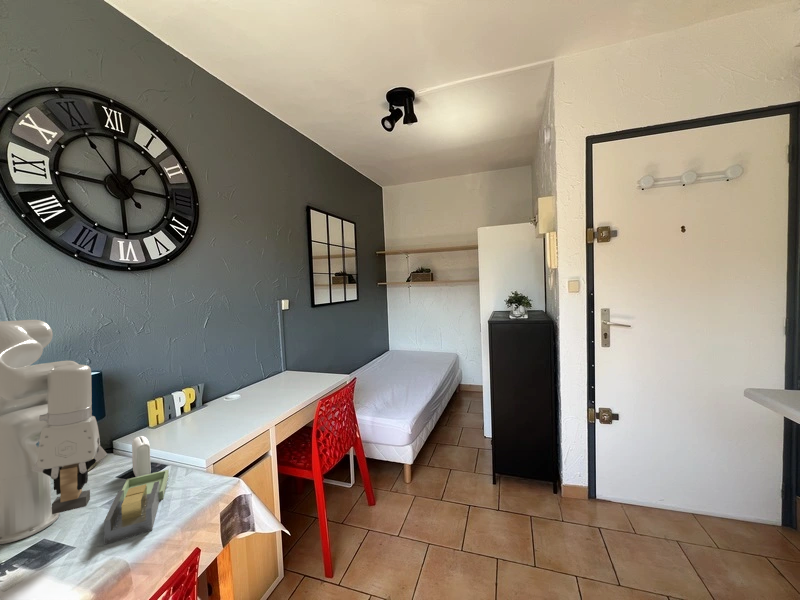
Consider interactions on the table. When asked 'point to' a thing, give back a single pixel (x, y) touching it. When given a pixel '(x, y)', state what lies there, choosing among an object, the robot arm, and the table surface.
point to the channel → (132, 526)
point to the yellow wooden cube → (132, 506)
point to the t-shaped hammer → (70, 491)
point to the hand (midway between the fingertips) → (71, 488)
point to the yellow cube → (138, 491)
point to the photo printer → (141, 456)
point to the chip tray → (148, 482)
